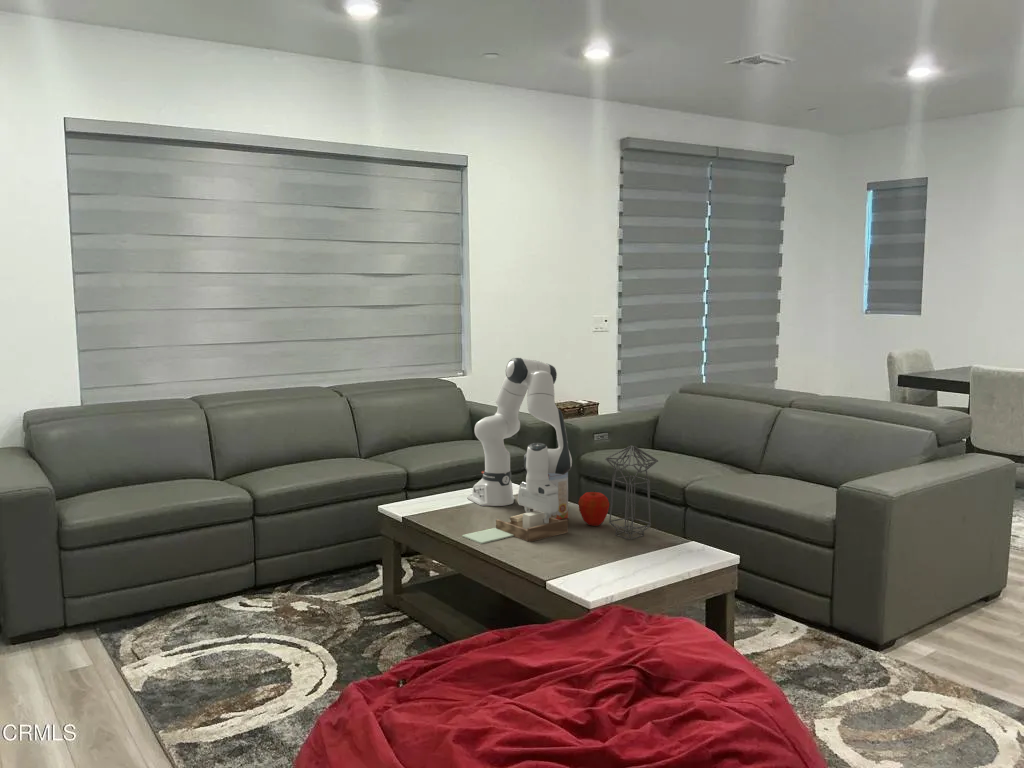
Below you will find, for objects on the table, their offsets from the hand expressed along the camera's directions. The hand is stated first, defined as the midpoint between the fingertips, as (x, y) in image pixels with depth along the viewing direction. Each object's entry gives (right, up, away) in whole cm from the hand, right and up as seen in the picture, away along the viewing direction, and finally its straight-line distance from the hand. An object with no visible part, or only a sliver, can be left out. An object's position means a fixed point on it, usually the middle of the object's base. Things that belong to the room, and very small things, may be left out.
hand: (537, 520), depth 334 cm
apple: (+23, -4, +11) cm, 26 cm away
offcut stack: (-6, -4, +7) cm, 10 cm away
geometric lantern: (+36, -5, -3) cm, 36 cm away
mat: (-19, -5, -5) cm, 20 cm away
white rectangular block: (-1, -5, +1) cm, 5 cm away
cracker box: (+6, -3, +19) cm, 20 cm away
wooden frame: (-2, -5, +2) cm, 6 cm away
